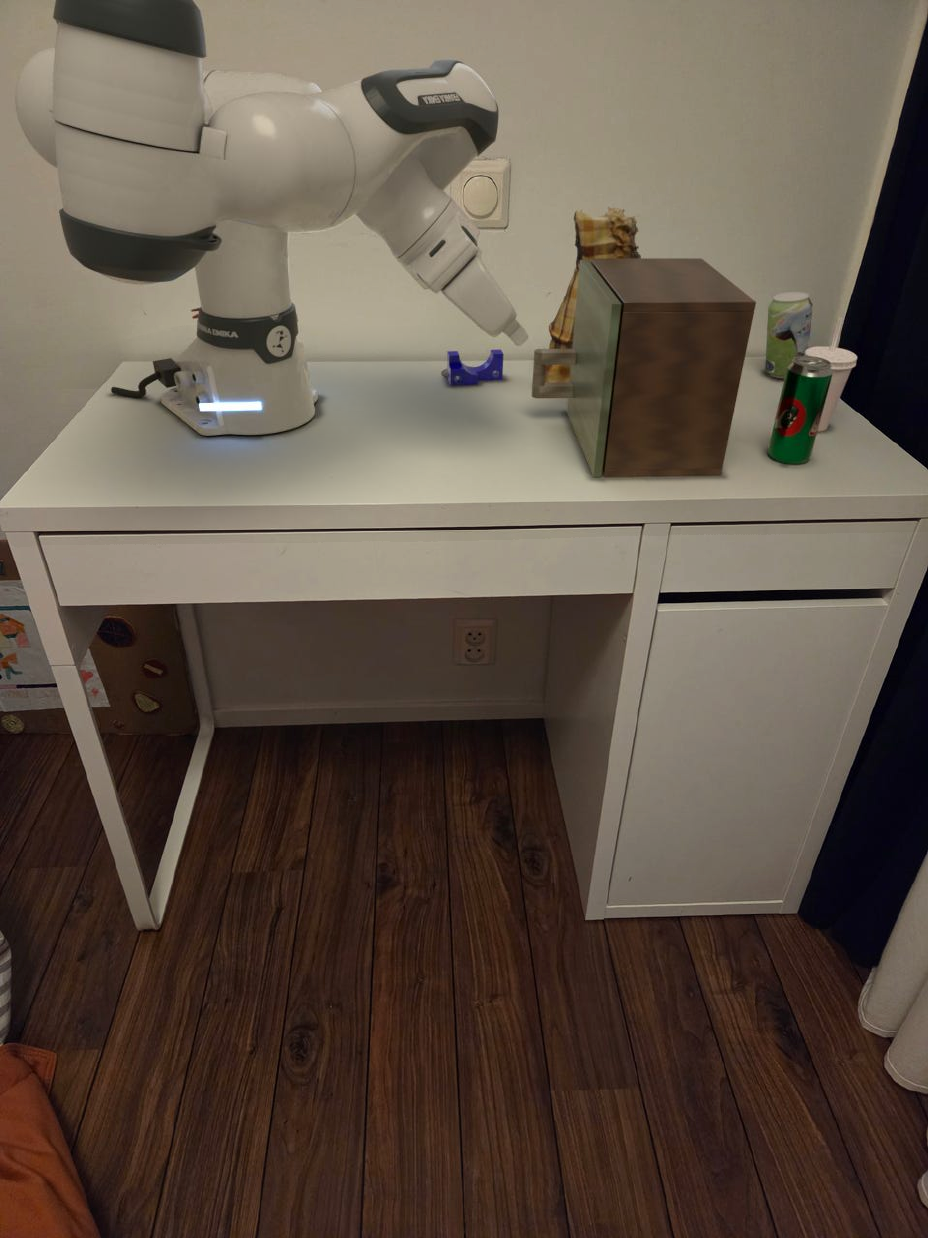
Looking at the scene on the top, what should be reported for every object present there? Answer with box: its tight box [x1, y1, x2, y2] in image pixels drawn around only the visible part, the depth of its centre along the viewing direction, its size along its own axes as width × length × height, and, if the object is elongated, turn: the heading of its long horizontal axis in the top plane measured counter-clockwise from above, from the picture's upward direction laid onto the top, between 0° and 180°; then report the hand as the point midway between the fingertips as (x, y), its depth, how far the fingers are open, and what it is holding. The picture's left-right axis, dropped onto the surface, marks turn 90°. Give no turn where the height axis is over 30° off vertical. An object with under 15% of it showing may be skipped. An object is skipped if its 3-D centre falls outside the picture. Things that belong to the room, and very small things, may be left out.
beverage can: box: [764, 291, 813, 380], centre depth 126 cm, size 6×7×12 cm
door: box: [531, 260, 621, 478], centre depth 102 cm, size 6×20×20 cm, turn 3°
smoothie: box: [804, 316, 858, 433], centre depth 109 cm, size 6×6×14 cm
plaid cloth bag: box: [545, 206, 642, 382], centre depth 119 cm, size 14×14×25 cm
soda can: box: [767, 356, 833, 466], centre depth 101 cm, size 5×5×12 cm
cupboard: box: [590, 257, 757, 479], centre depth 102 cm, size 14×20×20 cm
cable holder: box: [446, 348, 504, 387], centre depth 125 cm, size 8×4×4 cm, turn 99°
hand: (522, 339), depth 101 cm, fingers closed
